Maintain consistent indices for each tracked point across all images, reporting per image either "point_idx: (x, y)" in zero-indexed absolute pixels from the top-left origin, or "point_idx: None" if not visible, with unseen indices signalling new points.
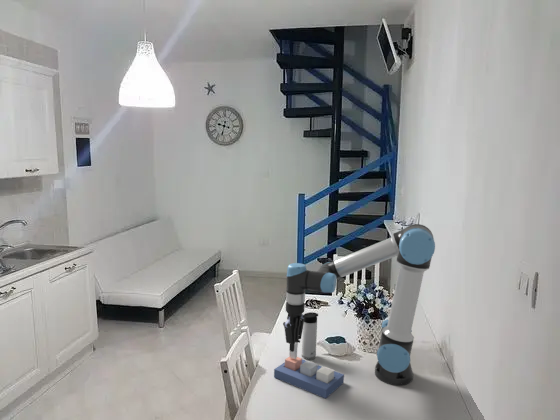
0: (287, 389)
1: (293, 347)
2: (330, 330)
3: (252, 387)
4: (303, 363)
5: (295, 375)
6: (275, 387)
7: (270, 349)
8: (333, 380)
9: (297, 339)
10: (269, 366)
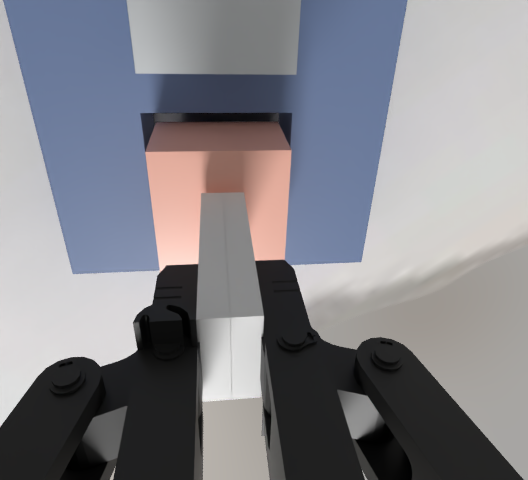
0: (446, 52)
1: (272, 295)
2: None
3: (511, 249)
4: (237, 66)
5: (364, 61)
6: (456, 143)
7: None
8: None
9: (190, 373)
10: None
